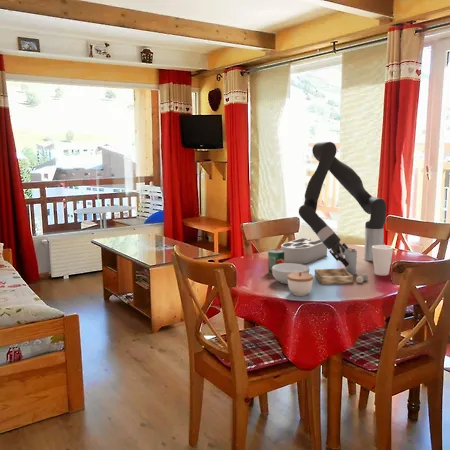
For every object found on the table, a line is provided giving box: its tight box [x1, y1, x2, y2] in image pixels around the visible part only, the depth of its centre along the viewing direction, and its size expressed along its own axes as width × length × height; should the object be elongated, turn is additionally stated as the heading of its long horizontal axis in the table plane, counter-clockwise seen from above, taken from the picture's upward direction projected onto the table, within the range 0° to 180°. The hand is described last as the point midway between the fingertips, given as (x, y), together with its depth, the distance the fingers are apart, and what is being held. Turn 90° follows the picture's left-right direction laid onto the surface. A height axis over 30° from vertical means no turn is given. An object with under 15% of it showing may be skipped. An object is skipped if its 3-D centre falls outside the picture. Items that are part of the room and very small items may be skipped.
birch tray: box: [314, 267, 354, 285], centre depth 216 cm, size 14×14×3 cm
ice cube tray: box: [280, 237, 328, 265], centre depth 258 cm, size 17×28×9 cm, turn 141°
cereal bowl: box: [271, 262, 310, 285], centre depth 213 cm, size 17×17×7 cm
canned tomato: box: [267, 248, 285, 276], centre depth 229 cm, size 8×8×11 cm
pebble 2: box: [360, 273, 369, 282], centre depth 212 cm, size 3×3×3 cm
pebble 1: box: [355, 275, 364, 284], centre depth 209 cm, size 3×3×3 cm
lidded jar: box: [287, 272, 314, 297], centre depth 196 cm, size 11×11×9 cm
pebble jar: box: [344, 247, 358, 276], centre depth 224 cm, size 5×5×13 cm
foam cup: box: [372, 244, 394, 276], centre depth 223 cm, size 10×9×13 cm
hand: (351, 263), depth 223 cm, fingers open, 7 cm apart
